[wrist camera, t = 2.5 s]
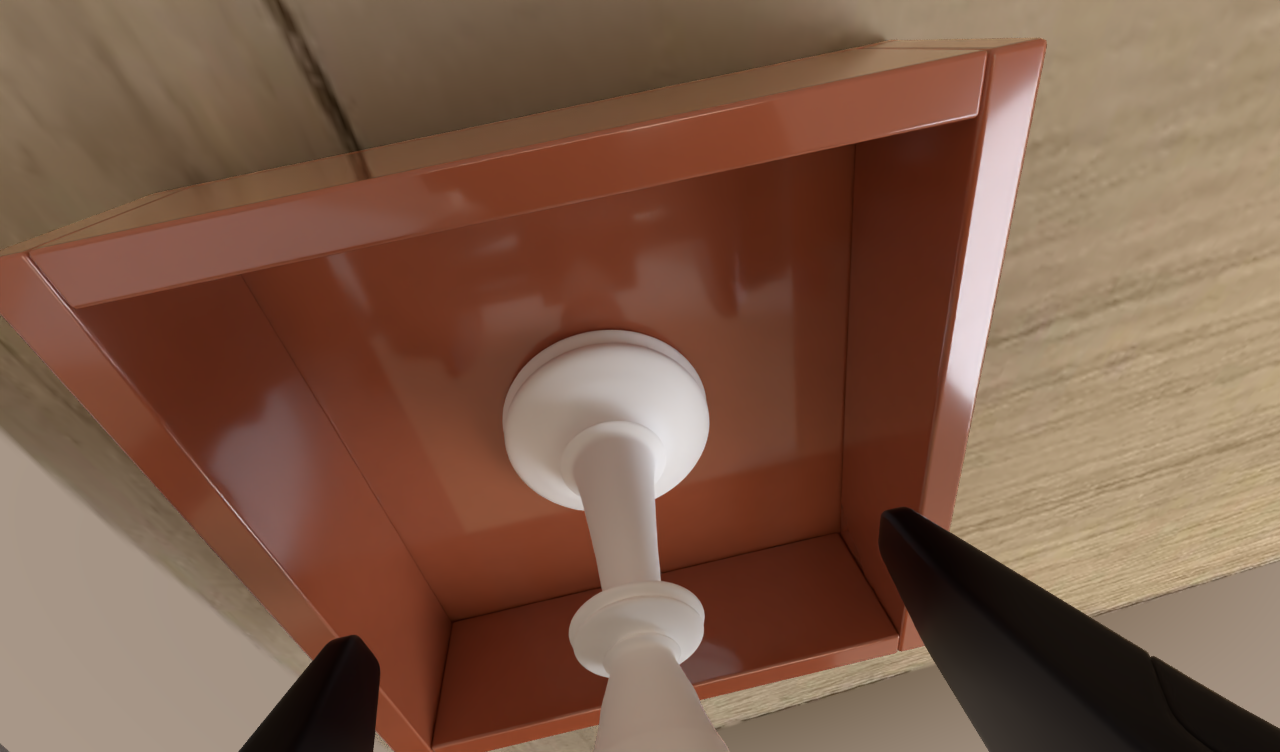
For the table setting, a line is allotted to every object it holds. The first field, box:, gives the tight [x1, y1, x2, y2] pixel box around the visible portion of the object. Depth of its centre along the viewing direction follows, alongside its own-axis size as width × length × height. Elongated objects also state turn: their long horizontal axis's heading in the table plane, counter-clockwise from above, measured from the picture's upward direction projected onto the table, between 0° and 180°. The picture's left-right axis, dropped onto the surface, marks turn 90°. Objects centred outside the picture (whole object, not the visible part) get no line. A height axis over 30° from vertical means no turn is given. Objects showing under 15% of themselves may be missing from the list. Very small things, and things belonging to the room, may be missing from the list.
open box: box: [0, 38, 1047, 752], centre depth 12 cm, size 14×14×4 cm
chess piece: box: [503, 330, 730, 752], centre depth 9 cm, size 5×5×10 cm
